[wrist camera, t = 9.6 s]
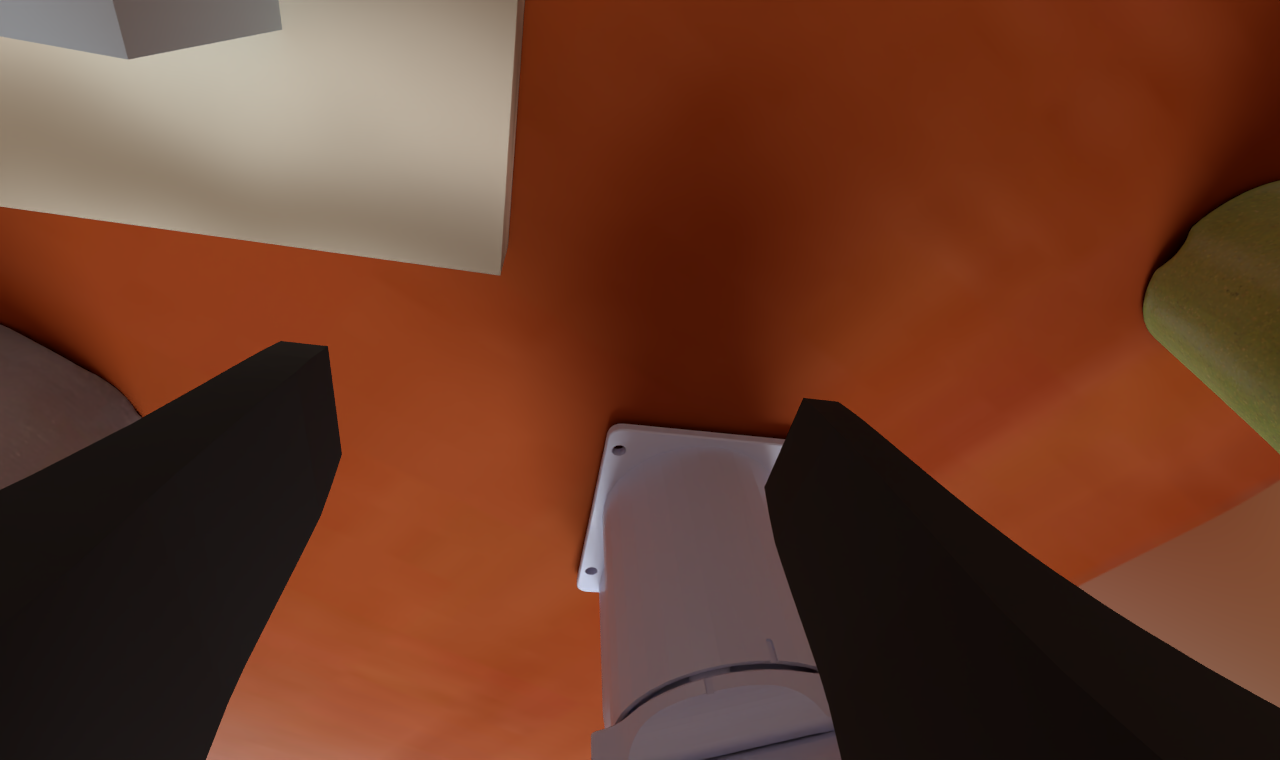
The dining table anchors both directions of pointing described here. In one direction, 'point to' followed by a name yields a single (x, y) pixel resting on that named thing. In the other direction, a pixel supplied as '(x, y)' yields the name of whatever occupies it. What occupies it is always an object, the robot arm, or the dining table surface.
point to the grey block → (135, 23)
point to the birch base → (285, 132)
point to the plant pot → (1227, 306)
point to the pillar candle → (50, 407)
